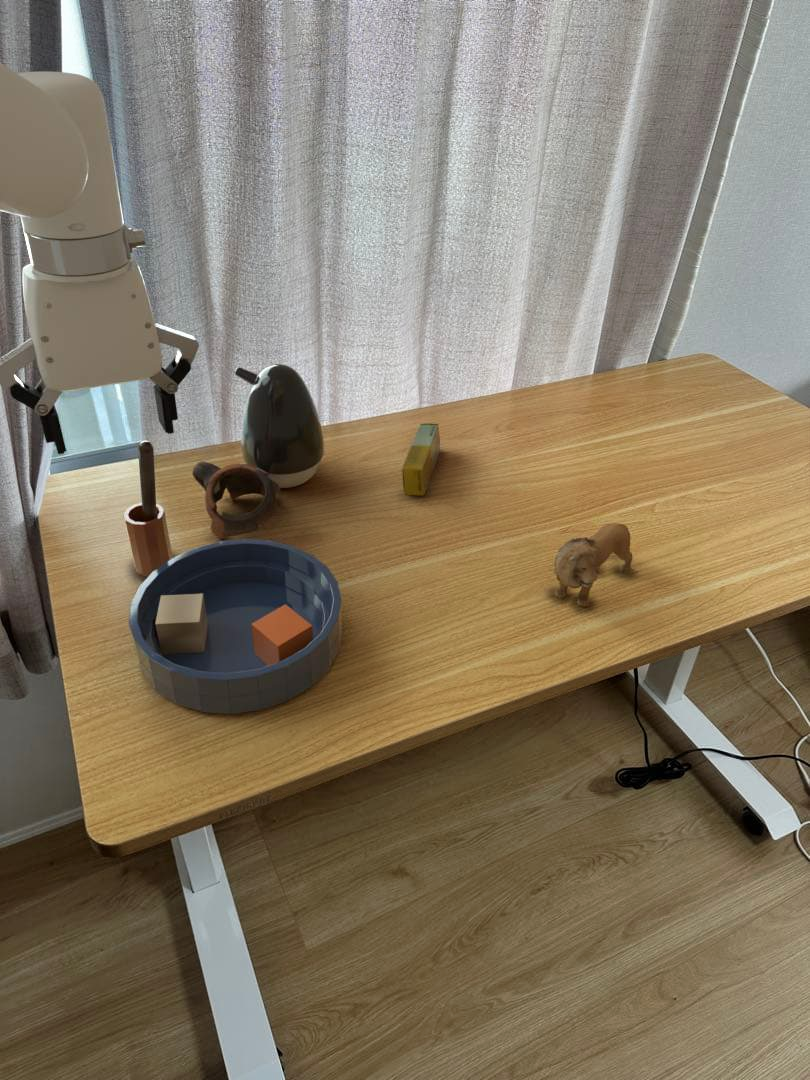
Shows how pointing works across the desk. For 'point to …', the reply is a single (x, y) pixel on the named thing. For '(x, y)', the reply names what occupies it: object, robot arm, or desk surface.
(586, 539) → the lion figurine
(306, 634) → the orange block
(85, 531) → the desk surface
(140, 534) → the holder
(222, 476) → the pottery mug
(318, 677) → the bowl
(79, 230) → the robot arm
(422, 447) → the medication box
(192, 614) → the pale block
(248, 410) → the pump dispenser
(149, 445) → the stick
